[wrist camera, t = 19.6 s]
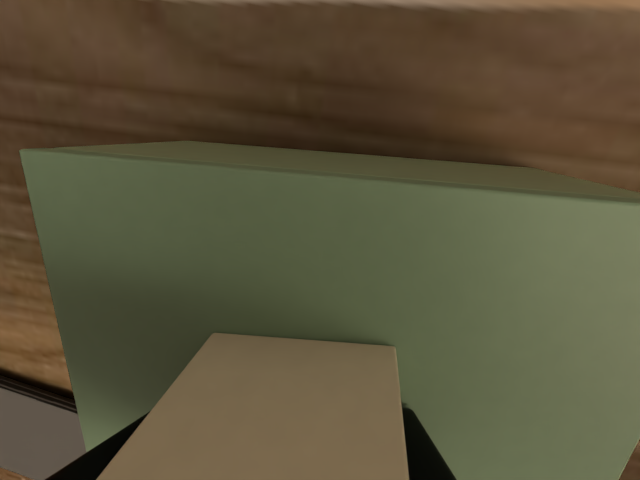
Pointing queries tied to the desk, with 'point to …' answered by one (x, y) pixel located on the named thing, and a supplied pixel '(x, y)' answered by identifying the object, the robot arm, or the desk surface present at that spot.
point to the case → (365, 166)
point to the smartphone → (37, 430)
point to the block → (273, 415)
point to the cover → (355, 296)
